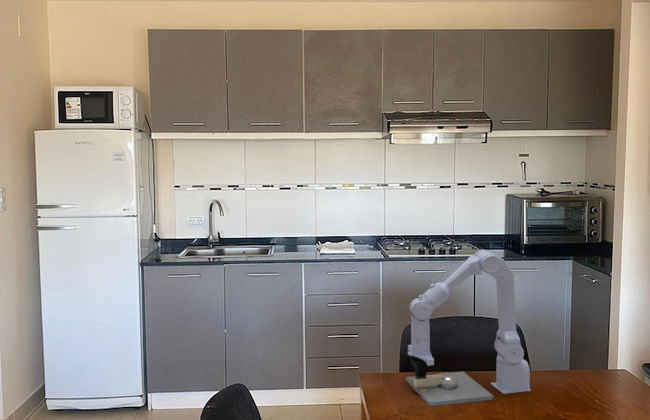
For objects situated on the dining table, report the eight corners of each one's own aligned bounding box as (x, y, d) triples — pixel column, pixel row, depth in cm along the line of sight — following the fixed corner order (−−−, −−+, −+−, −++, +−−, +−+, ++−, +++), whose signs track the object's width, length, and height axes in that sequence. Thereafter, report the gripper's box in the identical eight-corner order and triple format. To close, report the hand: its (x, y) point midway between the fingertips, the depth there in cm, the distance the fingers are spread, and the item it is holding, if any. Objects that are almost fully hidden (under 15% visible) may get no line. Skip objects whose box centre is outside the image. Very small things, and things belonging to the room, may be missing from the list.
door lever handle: (451, 381, 174) (451, 369, 174) (461, 388, 168) (461, 376, 168) (411, 386, 170) (411, 374, 170) (419, 393, 165) (419, 382, 164)
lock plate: (463, 375, 182) (463, 370, 182) (493, 399, 163) (493, 394, 163) (406, 380, 178) (406, 376, 178) (429, 406, 159) (429, 401, 159)
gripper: (399, 332, 176) (399, 373, 177) (418, 346, 162) (418, 390, 163) (419, 330, 177) (419, 371, 178) (440, 343, 164) (440, 387, 165)
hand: (420, 380), depth 171 cm, fingers closed
